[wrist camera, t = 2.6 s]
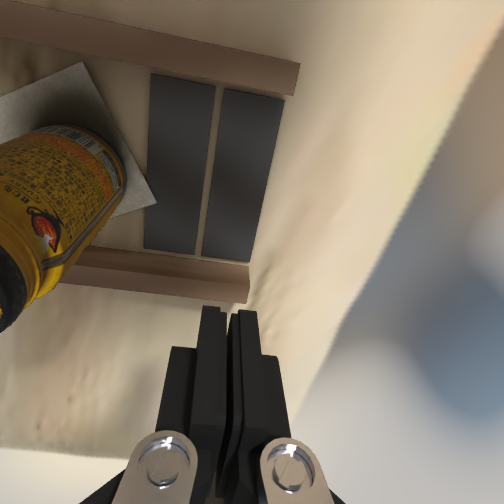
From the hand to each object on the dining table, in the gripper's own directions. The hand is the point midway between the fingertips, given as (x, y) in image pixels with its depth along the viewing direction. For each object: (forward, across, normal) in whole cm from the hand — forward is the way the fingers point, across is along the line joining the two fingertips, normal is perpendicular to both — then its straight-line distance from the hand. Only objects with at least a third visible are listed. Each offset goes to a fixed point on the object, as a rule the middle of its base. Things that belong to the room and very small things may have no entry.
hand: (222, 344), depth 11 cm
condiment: (+14, +10, -1) cm, 17 cm away
